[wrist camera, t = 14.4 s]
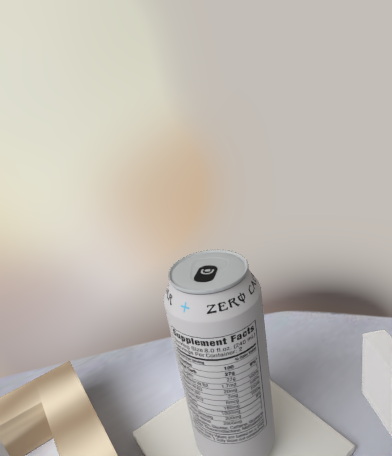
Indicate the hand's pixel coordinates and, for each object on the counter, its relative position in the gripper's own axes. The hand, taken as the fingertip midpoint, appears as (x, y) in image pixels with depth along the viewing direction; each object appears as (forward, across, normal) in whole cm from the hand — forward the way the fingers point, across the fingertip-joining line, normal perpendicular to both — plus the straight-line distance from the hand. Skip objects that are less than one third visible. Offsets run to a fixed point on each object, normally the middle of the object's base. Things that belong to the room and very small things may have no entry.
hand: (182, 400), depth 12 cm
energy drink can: (+9, +2, -15) cm, 18 cm away
